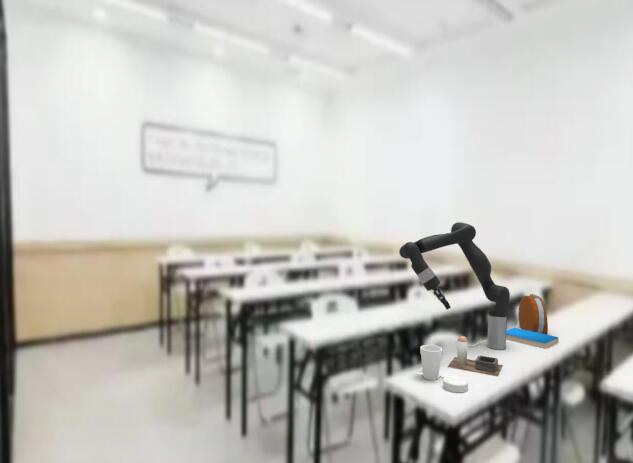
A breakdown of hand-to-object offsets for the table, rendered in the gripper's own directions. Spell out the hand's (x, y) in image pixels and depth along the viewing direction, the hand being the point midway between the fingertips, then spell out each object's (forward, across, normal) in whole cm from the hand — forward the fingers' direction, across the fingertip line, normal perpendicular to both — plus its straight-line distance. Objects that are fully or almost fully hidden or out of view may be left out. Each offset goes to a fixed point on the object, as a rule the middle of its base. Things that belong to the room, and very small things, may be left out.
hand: (448, 307), depth 213 cm
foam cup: (+19, -18, +23) cm, 35 cm away
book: (+47, +52, -24) cm, 74 cm away
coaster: (+25, -27, +16) cm, 40 cm away
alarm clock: (+50, +72, -31) cm, 93 cm away
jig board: (+29, -2, +6) cm, 30 cm away
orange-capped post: (+25, 0, +10) cm, 27 cm away
